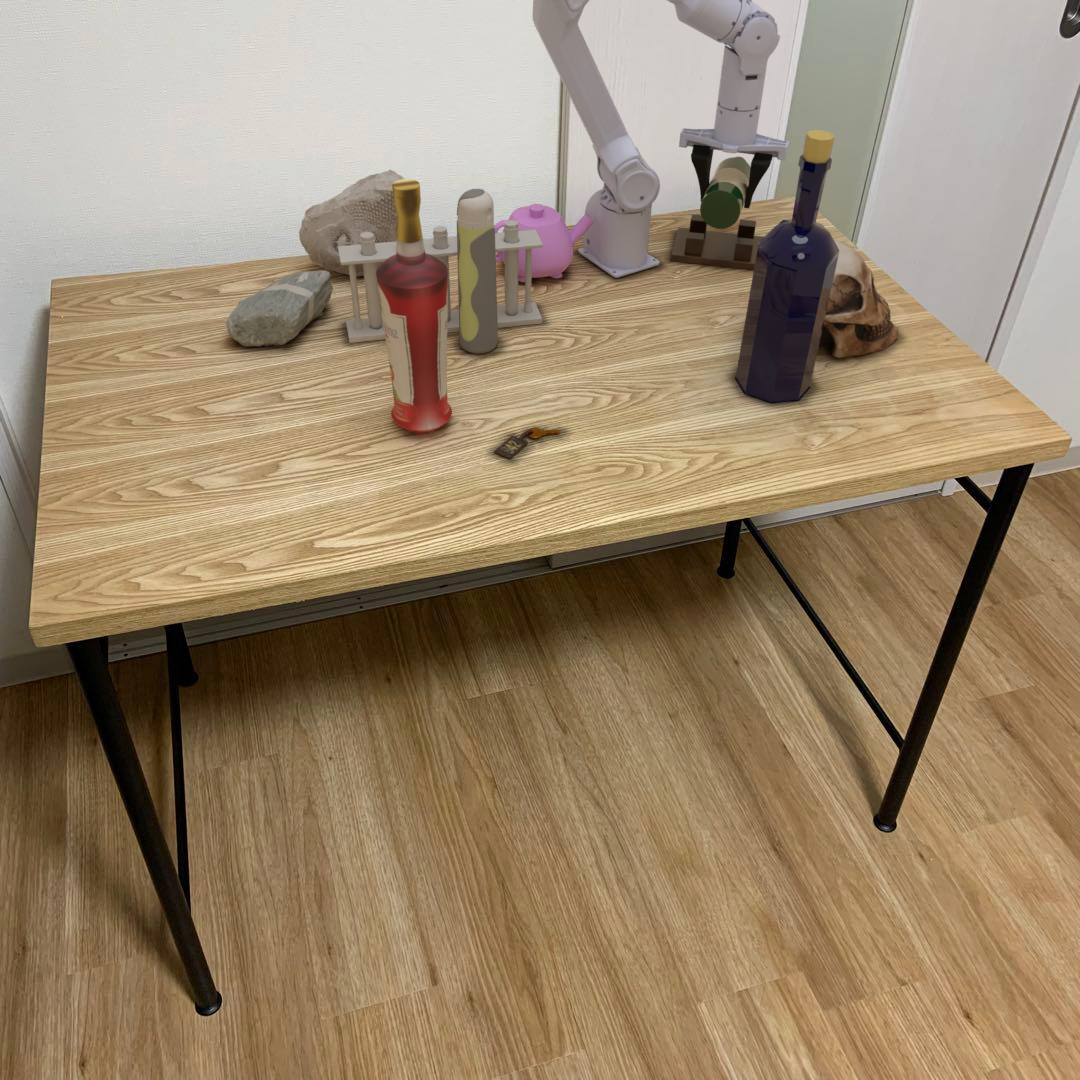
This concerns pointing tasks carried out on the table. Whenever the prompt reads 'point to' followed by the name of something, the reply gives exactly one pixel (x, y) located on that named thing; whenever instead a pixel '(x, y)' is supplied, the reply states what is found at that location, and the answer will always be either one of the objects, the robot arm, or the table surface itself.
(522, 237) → the test tube rack
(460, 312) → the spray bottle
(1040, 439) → the table surface
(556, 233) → the teapot
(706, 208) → the wine bottle
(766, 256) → the bottle
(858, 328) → the skull
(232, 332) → the decorative stone
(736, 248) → the wine rack
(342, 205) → the fossil
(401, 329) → the liquor
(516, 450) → the key tag
